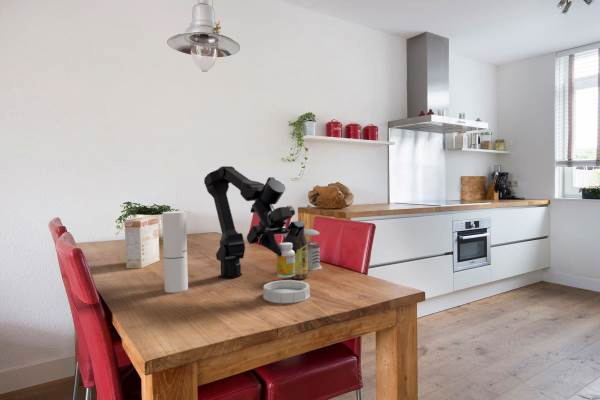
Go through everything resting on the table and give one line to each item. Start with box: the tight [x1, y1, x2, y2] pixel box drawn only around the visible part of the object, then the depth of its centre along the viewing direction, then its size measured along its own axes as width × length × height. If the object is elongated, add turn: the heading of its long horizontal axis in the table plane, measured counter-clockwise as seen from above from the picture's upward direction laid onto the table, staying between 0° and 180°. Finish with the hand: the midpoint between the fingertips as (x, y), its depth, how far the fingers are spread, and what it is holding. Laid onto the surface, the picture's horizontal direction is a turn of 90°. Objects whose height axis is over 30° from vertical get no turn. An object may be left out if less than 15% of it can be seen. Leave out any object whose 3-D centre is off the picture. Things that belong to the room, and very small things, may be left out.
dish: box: [262, 279, 311, 304], centre depth 116 cm, size 14×14×3 cm
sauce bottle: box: [290, 221, 309, 280], centre depth 137 cm, size 7×6×20 cm
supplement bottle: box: [276, 241, 295, 278], centre depth 116 cm, size 5×5×10 cm
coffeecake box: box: [123, 216, 160, 269], centre depth 162 cm, size 15×7×20 cm, turn 172°
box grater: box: [304, 204, 323, 271], centre depth 152 cm, size 10×12×25 cm
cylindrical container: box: [162, 210, 189, 294], centre depth 124 cm, size 7×7×25 cm
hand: (288, 254), depth 114 cm, fingers closed on supplement bottle, 5 cm apart
